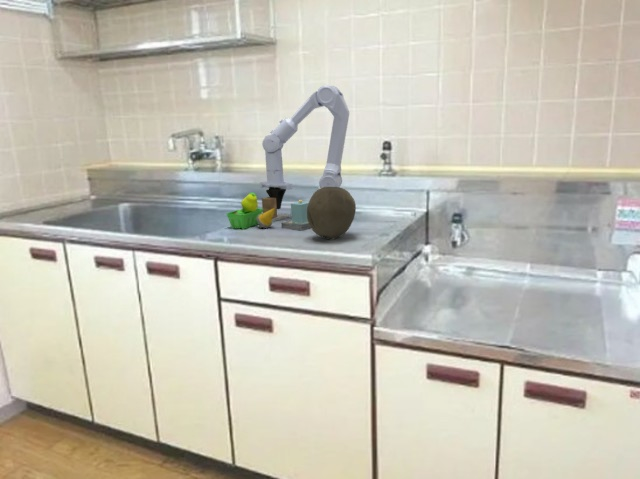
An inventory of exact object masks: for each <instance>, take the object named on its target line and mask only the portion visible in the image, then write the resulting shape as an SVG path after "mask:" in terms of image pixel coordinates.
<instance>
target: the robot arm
mask: <svg viewBox="0 0 640 479" xmlns="http://www.w3.org/2000/svg"><path fill="white" fill-rule="evenodd" d="M321 107H323V108H324V107H325V108H326V109H328V111H329V112H330V113H331V115H332V116H333V121H332V126H331V133H330V138H329V145H328V151H327V158H326V163H325V166H324V169H323V174H322V175H321V177H320V179H319V182H318V184H319V186H318V187H319V189H321V188H323V187H340V188H341V186H342V183H343V177H342V160H343V153H344V148H345V143H346V136H347V135H346V134H347V130H348V124H349V118H350V109H349V107H348V105H347V102H346V100H345V98H344V94H343V92H341V91H340V89H339V88H338V87H336V86H334V85H328V84H325V85H321V86H320V87H319V88H318V89H317V90H316V91H315V92H313V93H312V94H311V95H310V96H309V97H308V99H306V100H305V102H304V103H303V104H302V105H301V106H300V107H299V108H298V110H297V111H296V112H295V113H294V114H293V115H292V116H291V117H289V118H288V117H287V118H286V117H285V118H284V119H281V120H280V121H279V124H278V125H277V126H276V127H275V129H274V130H271V131H270V132H269V133H270V134H269V135H265V136H264V139H263V140H262V143H261V144H262V148H263V150H264V151H265V154H264V155H265V169H266V181H260V182H259V188H265V189H266V188H268V189H266V190H265V191H266V192H265V193H267V195H268V197H272V198H276V206H277V210H280V209H281V208H282V203H283V198H284V196H285V193H286V192H287V191H291V190H293V183H289V182H285V181H284V168H283V167H284V164H283V156H282V149H283V147H284V144H286V143H287V142H288V141H289V140H290V139H292V137H293V136H294V135H295V134H296V133H297V132H298V127H299V124H300V123H301V122H302V121H303V120H305V119H306V118H307V117H308V115H310V114H311V113H312V112H313V111H314V110H315V109H319V108H321Z"/></svg>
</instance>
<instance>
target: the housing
mask: <svg viewBox="0 0 640 479" xmlns="http://www.w3.org/2000/svg"><path fill="white" fill-rule="evenodd" d="M308 204H309V201H303V199H298V201H296V202H293V203H290V214H291V221H292V222H296V223H305V222H308V219H307V207H308Z"/></svg>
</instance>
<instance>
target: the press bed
mask: <svg viewBox="0 0 640 479" xmlns="http://www.w3.org/2000/svg"><path fill="white" fill-rule="evenodd" d="M280 224H281V228H282V229H286V230H287V229H288V230H294V231H305V230H309V229H312V228H311V227H310V225H309V223H308V222H305V223H296V222H292V220H287V221H285V222H281V223H280Z"/></svg>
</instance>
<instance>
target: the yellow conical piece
mask: <svg viewBox="0 0 640 479" xmlns="http://www.w3.org/2000/svg"><path fill="white" fill-rule="evenodd" d="M274 211H275V208H273V209H271V210H269V211H267V212H265V213H263V212H262V214H259V215H258V216H257V218H256V219H257V222H258V223H259V224H258V228H259V229H262V228H265V229H269V228H270V227H271V226H272V225H273V224H272V223H273V221H272V218H273V215H274Z"/></svg>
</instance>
